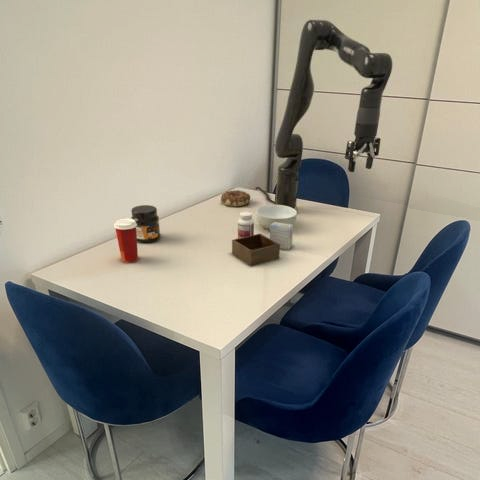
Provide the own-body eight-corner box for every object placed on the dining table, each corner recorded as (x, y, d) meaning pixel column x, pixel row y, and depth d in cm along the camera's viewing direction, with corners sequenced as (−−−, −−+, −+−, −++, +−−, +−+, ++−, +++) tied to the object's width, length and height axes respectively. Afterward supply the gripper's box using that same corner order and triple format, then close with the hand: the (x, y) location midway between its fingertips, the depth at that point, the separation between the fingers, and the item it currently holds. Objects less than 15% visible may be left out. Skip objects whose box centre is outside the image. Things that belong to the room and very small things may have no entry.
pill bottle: (246, 236, 183) (247, 209, 177) (256, 241, 179) (257, 214, 173) (234, 240, 179) (234, 213, 173) (244, 245, 175) (245, 217, 169)
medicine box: (292, 246, 175) (293, 224, 170) (288, 250, 171) (289, 228, 167) (272, 242, 178) (274, 221, 173) (268, 246, 174) (269, 225, 170)
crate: (231, 253, 168) (232, 239, 165) (259, 247, 174) (260, 233, 171) (250, 266, 159) (251, 251, 156) (279, 258, 165) (280, 244, 162)
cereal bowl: (249, 230, 188) (250, 214, 184) (263, 218, 201) (263, 202, 197) (289, 237, 183) (290, 220, 179) (300, 223, 196) (301, 207, 192)
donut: (239, 209, 211) (239, 199, 208) (215, 204, 217) (215, 193, 214) (255, 201, 221) (256, 191, 218) (232, 196, 227) (232, 186, 225)
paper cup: (144, 256, 165) (140, 219, 158) (133, 265, 159) (129, 226, 151) (125, 253, 167) (120, 216, 160) (114, 262, 161) (108, 223, 154)
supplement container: (136, 245, 174) (132, 214, 168) (131, 235, 182) (127, 206, 176) (163, 241, 177) (160, 211, 171) (157, 232, 186) (154, 203, 179)
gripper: (373, 118, 160) (366, 165, 169) (344, 121, 154) (337, 170, 162) (390, 121, 155) (381, 170, 164) (360, 124, 148) (352, 175, 157)
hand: (359, 170), depth 163 cm, fingers open, 8 cm apart
